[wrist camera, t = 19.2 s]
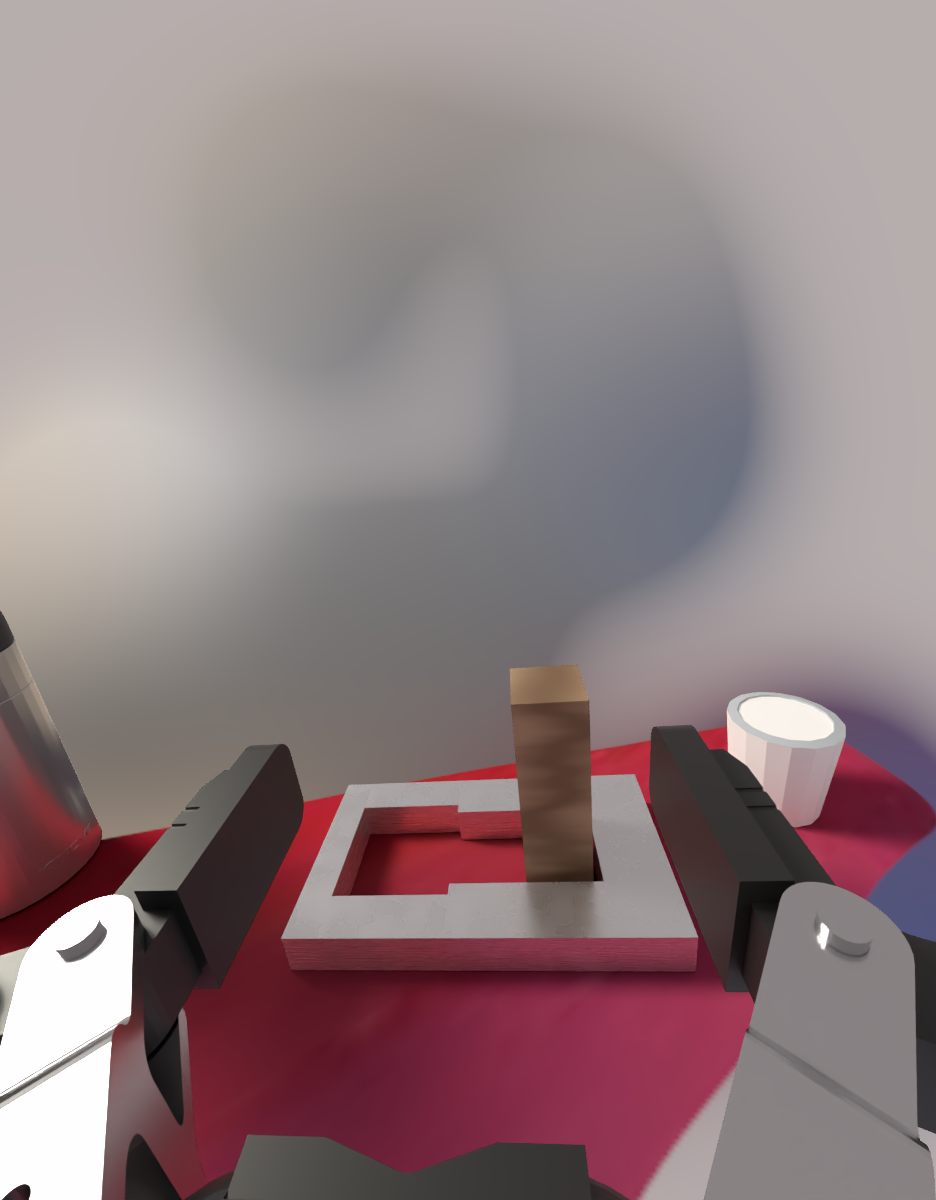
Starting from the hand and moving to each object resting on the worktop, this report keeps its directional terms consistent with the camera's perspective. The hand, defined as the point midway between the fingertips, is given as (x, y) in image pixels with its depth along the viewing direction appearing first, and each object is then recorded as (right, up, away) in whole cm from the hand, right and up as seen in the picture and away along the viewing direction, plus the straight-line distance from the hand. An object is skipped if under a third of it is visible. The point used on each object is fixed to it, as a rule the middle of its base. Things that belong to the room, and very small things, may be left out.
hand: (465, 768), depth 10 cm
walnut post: (+6, -14, +20) cm, 25 cm away
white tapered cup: (+23, -11, +24) cm, 35 cm away
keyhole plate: (+1, -14, +21) cm, 25 cm away
